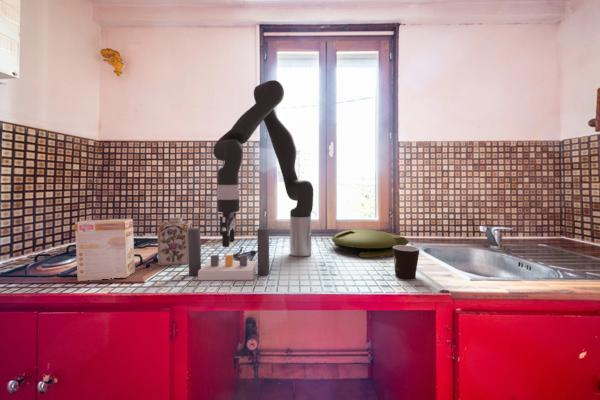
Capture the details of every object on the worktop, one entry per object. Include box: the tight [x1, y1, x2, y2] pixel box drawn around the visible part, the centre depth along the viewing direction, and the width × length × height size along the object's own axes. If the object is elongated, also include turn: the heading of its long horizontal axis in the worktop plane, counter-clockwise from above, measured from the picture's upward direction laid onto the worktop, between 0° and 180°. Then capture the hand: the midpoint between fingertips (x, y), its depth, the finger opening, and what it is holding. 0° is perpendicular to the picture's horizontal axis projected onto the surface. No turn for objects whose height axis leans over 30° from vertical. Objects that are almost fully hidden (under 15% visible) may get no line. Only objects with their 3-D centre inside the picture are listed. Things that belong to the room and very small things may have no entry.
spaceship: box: [331, 228, 410, 259], centre depth 137 cm, size 35×31×10 cm
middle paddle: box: [224, 254, 234, 266], centre depth 100 cm, size 2×2×4 cm
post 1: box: [188, 227, 202, 277], centre depth 99 cm, size 4×4×16 cm
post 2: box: [256, 227, 270, 277], centre depth 100 cm, size 4×4×16 cm
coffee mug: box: [392, 244, 420, 281], centre depth 98 cm, size 12×9×10 cm
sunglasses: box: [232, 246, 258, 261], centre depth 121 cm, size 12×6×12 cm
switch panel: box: [197, 254, 258, 281], centre depth 100 cm, size 18×12×7 cm, turn 92°
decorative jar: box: [156, 216, 195, 266], centre depth 116 cm, size 12×12×18 cm
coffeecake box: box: [74, 218, 136, 282], centre depth 96 cm, size 15×7×20 cm, turn 100°
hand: (228, 244), depth 99 cm, fingers open, 8 cm apart
